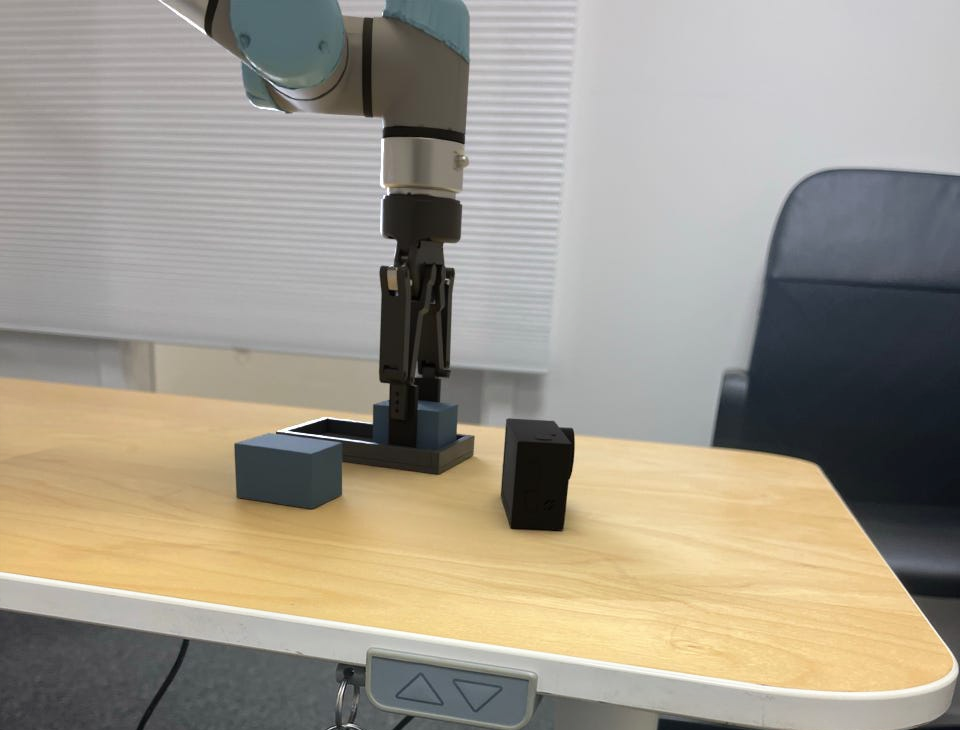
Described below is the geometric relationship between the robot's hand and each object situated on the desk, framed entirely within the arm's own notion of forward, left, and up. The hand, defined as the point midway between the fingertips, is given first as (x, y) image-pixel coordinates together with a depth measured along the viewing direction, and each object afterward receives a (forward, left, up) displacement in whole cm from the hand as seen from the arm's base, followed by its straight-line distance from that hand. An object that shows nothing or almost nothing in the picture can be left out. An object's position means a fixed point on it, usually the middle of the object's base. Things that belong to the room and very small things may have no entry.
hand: (413, 446), depth 94 cm
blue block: (0, 0, 0) cm, 0 cm away
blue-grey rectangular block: (-3, -20, -1) cm, 20 cm away
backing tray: (-4, 0, -1) cm, 4 cm away
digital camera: (+17, -14, -2) cm, 22 cm away
